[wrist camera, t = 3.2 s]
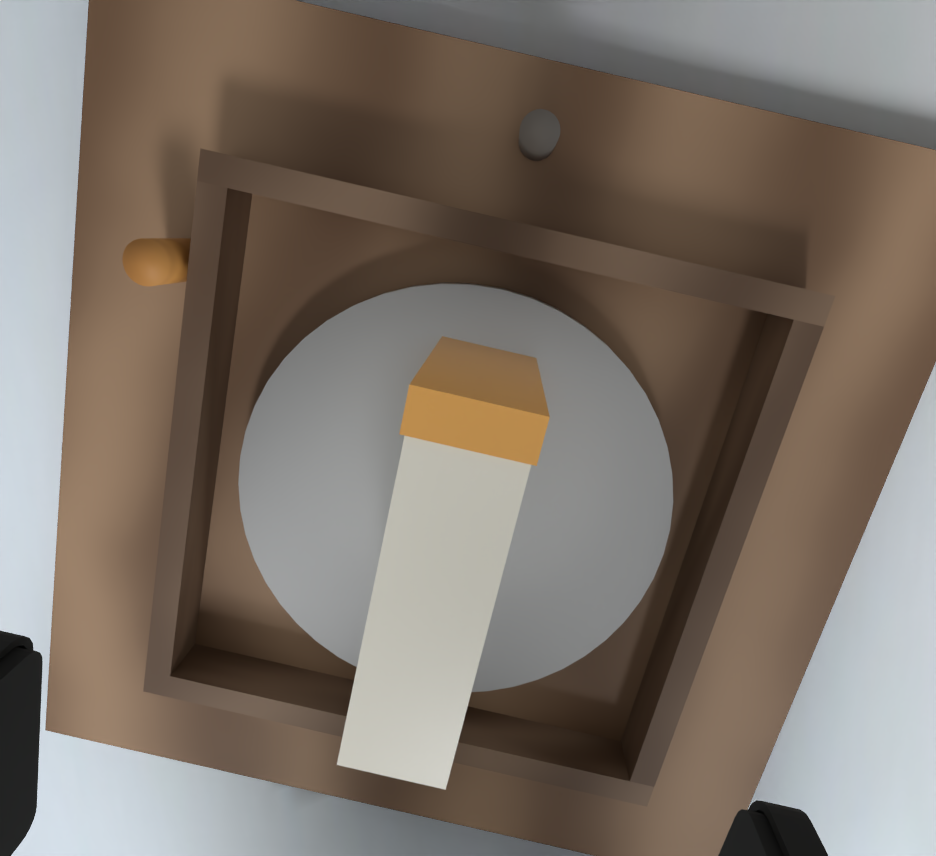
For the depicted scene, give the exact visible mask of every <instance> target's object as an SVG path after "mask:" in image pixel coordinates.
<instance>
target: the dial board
mask: <svg viewBox="0 0 936 856" xmlns="http://www.w3.org/2000/svg"><path fill="white" fill-rule="evenodd" d="M443 282H445V283H475V284H481V285H487V286H493V287H499V288H504V289H507V290H511V291H514V292H517V293H521V294H524V295H527V296H530V297H533V298H535V299H537V300H539V301H542V302H544V303H546V304H548V305H550V306H553V307H555V308H557V309H559V310H561V311H562V312H564V313H565V314H567V315H568V316H570V317H572V318H573V319H575V320H576V321H578V322H580V323H581V324H583V325H584V326H585V327H586V328H588V329H589V330H590V331H591V332H592V333H594V334H595V335H596V336H597V337H598V338H600V339H601V340H602V341H603V342H604V343H605V344H606V345H607V346H608V347H609V348H610V349H611V350H612V351H613V352H614V353H615V354H616V356H617V357H618V358H619V359H620V360H621V361H622V362H623V363H624V364H625V366H626V367H627V368H628V369H629V370H630V371H631V373H632V374H633V376H634V377H635V379H636V380H637V382H638V383H639V385H640V386H641V388H642V389H643V391H644V392H645V393H646V395H647V397H648V399H649V401H650V403H651V405H652V407H653V409H654V411H655V413H656V415H657V418H658V420H659V422H660V425H661V428H662V431H663V435H664V438H665V441H666V444H667V447H668V452H669V458H670V464H671V469H672V478H673V509H672V517H671V526H670V532H669V535H668V539H667V543H666V547H665V551H664V555H663V557H662V560H661V562H660V564H659V567H658V569H657V572H656V574H655V576H654V579H653V581H652V582H651V584H650V586H649V587H648V589H647V591H646V593H645V594H644V596H643V598H642V599H641V601H640V603H639V604H638V605H637V606H636V608H635V609H634V610H633V612H632V613H631V614H630V615H629V617H628V618H627V619H626V620H625V622H624V623H623V624H622V625H621V626H620V627H619V628H618V629H617V630H616V631H615V632H614V633H613V634H612V635H611V636H610V637H609V638H608V639H607V640H606V641H604V642H603V643H602V644H600V645H599V646H598V647H596V648H595V649H594V650H592V651H591V652H590V653H588V654H587V655H586V656H584V657H583V658H581V659H579V660H577V661H576V662H574V663H572V664H571V665H569V666H567V667H565V668H564V669H562V670H559V671H557V672H555V673H552V674H550V675H548V676H545V677H543V678H541V679H538V680H535V681H531V682H528V683H525V684H521V685H518V686H514V687H509V688H504V689H498V690H492V691H482V692H471V696H470V699H469V703H468V707H467V711H466V714H465V718H464V722H463V726H462V730H461V733H460V737H459V741H458V745H457V749H456V752H455V756H454V760H453V764H452V768H451V771H450V775H449V779H448V783H447V786H446V790H445V789H440V788H436V787H431V786H427V785H423V784H418V783H414V782H410V781H405V780H401V779H396V778H392V777H388V776H383V775H379V774H375V773H370V772H366V771H361V770H357V769H353V768H348V767H344V766H340V765H337V761H338V756H339V751H340V746H341V741H342V737H343V732H344V727H345V722H346V717H347V712H348V707H349V703H350V698H351V693H352V688H353V683H354V678H355V674H356V669H357V667H355V666H354V665H352V664H350V663H348V662H346V661H345V660H343V659H341V658H339V657H337V656H336V655H335V654H333V653H332V652H330V651H329V650H328V649H326V648H325V647H323V646H322V645H321V644H319V643H318V642H317V641H315V640H314V639H313V638H312V637H311V636H310V635H309V634H308V633H307V632H306V631H304V630H303V629H302V628H301V627H300V626H299V625H298V624H297V623H296V622H295V621H294V620H293V618H292V617H291V616H290V615H289V614H288V613H287V611H286V610H285V609H284V608H283V607H282V606H281V605H280V603H279V602H278V600H277V599H276V597H275V596H274V594H273V593H272V591H271V590H270V588H269V587H268V585H267V584H266V582H265V580H264V578H263V576H262V574H261V572H260V570H259V568H258V566H257V564H256V562H255V560H254V558H253V555H252V552H251V549H250V546H249V543H248V540H247V538H246V535H245V530H244V525H243V520H242V515H241V511H240V499H239V485H238V482H239V467H240V455H241V450H242V446H243V441H244V436H245V431H246V428H247V425H248V423H249V420H250V417H251V414H252V412H253V409H254V406H255V404H256V402H257V400H258V398H259V396H260V395H261V393H262V391H263V389H264V387H265V385H266V383H267V381H268V380H269V379H270V377H271V376H272V375H273V373H274V372H275V370H276V369H277V368H278V366H279V365H280V364H281V362H282V361H283V360H284V358H285V357H286V356H287V355H288V354H289V353H290V352H291V351H292V350H293V349H294V348H295V347H296V346H297V345H298V344H299V343H300V342H301V341H302V340H303V339H304V338H305V337H306V336H308V335H309V334H310V333H311V332H313V331H314V330H315V329H317V328H318V327H319V326H321V325H322V324H323V323H324V322H326V321H327V320H329V319H331V318H332V317H334V316H336V315H338V314H339V313H341V312H343V311H345V310H346V309H348V308H350V307H352V306H354V305H356V304H358V303H361V302H363V301H366V300H368V299H371V298H373V297H376V296H378V295H381V294H383V293H386V292H390V291H394V290H398V289H402V288H406V287H410V286H415V285H424V284H434V283H443ZM935 362H936V150H933V149H929V148H925V147H921V146H916V145H912V144H908V143H904V142H899V141H895V140H891V139H886V138H882V137H878V136H874V135H869V134H865V133H861V132H856V131H852V130H848V129H844V128H839V127H835V126H831V125H827V124H822V123H818V122H814V121H809V120H805V119H801V118H797V117H792V116H788V115H784V114H779V113H775V112H771V111H767V110H762V109H758V108H754V107H750V106H745V105H741V104H737V103H732V102H728V101H724V100H720V99H715V98H711V97H707V96H702V95H698V94H694V93H690V92H685V91H681V90H677V89H673V88H668V87H664V86H660V85H655V84H651V83H647V82H643V81H638V80H634V79H630V78H626V77H621V76H617V75H613V74H608V73H604V72H600V71H596V70H591V69H587V68H583V67H578V66H574V65H570V64H566V63H561V62H557V61H553V60H549V59H544V58H540V57H536V56H531V55H527V54H523V53H519V52H514V51H510V50H506V49H501V48H497V47H493V46H489V45H484V44H480V43H476V42H472V41H467V40H463V39H459V38H454V37H450V36H446V35H442V34H437V33H433V32H429V31H424V30H420V29H416V28H412V27H407V26H403V25H399V24H395V23H390V22H386V21H382V20H377V19H373V18H369V17H365V16H360V15H356V14H352V13H348V12H343V11H339V10H335V9H330V8H326V7H322V6H318V5H313V4H309V3H305V2H300V1H296V0H89V6H88V23H87V39H86V56H85V73H84V90H83V107H82V124H81V140H80V157H79V174H78V191H77V208H76V224H75V241H74V258H73V275H72V292H71V309H70V325H69V342H68V359H67V376H66V393H65V409H64V426H63V443H62V460H61V477H60V494H59V510H58V527H57V544H56V561H55V578H54V594H53V611H52V628H51V645H50V662H49V679H48V695H47V712H46V729H45V730H47V731H51V732H56V733H60V734H65V735H69V736H73V737H78V738H82V739H86V740H91V741H95V742H100V743H104V744H108V745H113V746H117V747H121V748H126V749H130V750H135V751H139V752H143V753H148V754H152V755H156V756H161V757H165V758H170V759H174V760H178V761H183V762H187V763H191V764H196V765H200V766H205V767H209V768H213V769H218V770H222V771H226V772H231V773H235V774H240V775H244V776H248V777H253V778H257V779H262V780H266V781H270V782H275V783H279V784H283V785H288V786H292V787H297V788H301V789H305V790H310V791H314V792H318V793H323V794H327V795H332V796H336V797H340V798H345V799H349V800H353V801H358V802H362V803H367V804H371V805H375V806H380V807H384V808H388V809H393V810H397V811H402V812H406V813H410V814H415V815H419V816H423V817H428V818H432V819H437V820H441V821H445V822H450V823H454V824H458V825H463V826H467V827H472V828H476V829H480V830H485V831H489V832H493V833H498V834H502V835H507V836H511V837H515V838H520V839H524V840H529V841H533V842H537V843H542V844H546V845H550V846H555V847H559V848H564V849H568V850H572V851H577V852H581V853H585V854H590V855H594V856H718V855H719V853H720V850H721V848H722V846H723V843H724V841H725V839H726V837H727V834H728V832H729V830H730V827H731V825H732V823H733V820H734V818H735V816H736V814H737V813H738V811H740V810H741V809H744V810H747V809H748V807H749V804H750V802H751V800H752V797H753V795H754V792H755V790H756V788H757V785H758V783H759V781H760V778H761V776H762V773H763V771H764V769H765V766H766V764H767V762H768V759H769V757H770V754H771V752H772V750H773V747H774V745H775V743H776V740H777V738H778V735H779V733H780V731H781V728H782V726H783V723H784V721H785V719H786V716H787V714H788V712H789V709H790V707H791V704H792V702H793V700H794V697H795V695H796V693H797V690H798V688H799V685H800V683H801V681H802V678H803V676H804V674H805V671H806V669H807V666H808V664H809V662H810V659H811V657H812V655H813V652H814V650H815V647H816V645H817V643H818V640H819V638H820V636H821V633H822V631H823V628H824V626H825V624H826V621H827V619H828V617H829V614H830V612H831V609H832V607H833V605H834V602H835V600H836V597H837V595H838V593H839V590H840V588H841V586H842V583H843V581H844V578H845V576H846V574H847V571H848V569H849V567H850V564H851V562H852V559H853V557H854V555H855V552H856V550H857V548H858V545H859V543H860V540H861V538H862V536H863V533H864V531H865V529H866V526H867V524H868V521H869V519H870V517H871V514H872V512H873V510H874V507H875V505H876V502H877V500H878V498H879V495H880V493H881V491H882V488H883V486H884V483H885V481H886V479H887V476H888V474H889V472H890V469H891V467H892V464H893V462H894V460H895V457H896V455H897V452H898V450H899V448H900V445H901V443H902V441H903V438H904V436H905V433H906V431H907V429H908V426H909V424H910V422H911V419H912V417H913V414H914V412H915V410H916V407H917V405H918V403H919V400H920V398H921V395H922V393H923V391H924V388H925V386H926V384H927V381H928V379H929V376H930V374H931V372H932V369H933V367H934V365H935Z"/></svg>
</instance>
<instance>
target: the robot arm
mask: <svg viewBox="0 0 936 856" xmlns="http://www.w3.org/2000/svg"><path fill="white" fill-rule="evenodd" d="M41 684H42V656H41V654H40V653H39V652H37V651H33V643H32V641H31V640H30V638H28V637H25V636H21V635H16V634H12V633H8V632H3V631H0V856H11V855H12V853H13V852H14V851H15V850H16V848H17V847H18V846H19V845H20V843H21V842H22V840H23V839H24V838H25V836H26V834H27V832H28V831H29V829H30V827H31V824H32V822H33V820H34V816H35V813H36V807H37V783H38V758H39V733H40V709H41ZM718 856H828V854H827V852H826V850H825V848H824V846H823V844H822V842H821V840H820V838H819V836H818V834H817V832H816V830H815V828H814V827H813V825H812V823H811V821H810V819H809V818H808V816H807V815H806V813H804V812H803V811H801V810H799V809H795V808H790V807H786V806H782V805H777V804H773V803H768V802H764V801H755V802H754V803H752V804H751V806H750V808H749V809H748V810H744V809H741V810H740V811H738V813H737V814H736V816H735V818H734V820H733V823H732V825H731V827H730V830H729V832H728V834H727V837H726V839H725V841H724V843H723V846H722V848H721V850H720V853H719V855H718Z"/></svg>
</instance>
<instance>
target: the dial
mask: <svg viewBox="0 0 936 856" xmlns="http://www.w3.org/2000/svg"><path fill="white" fill-rule="evenodd" d="M238 485H239V499H240V511H241V515H242V520H243V525H244V530H245V535H246V538H247V540H248V543H249V546H250V549H251V552H252V555H253V558H254V560H255V562H256V564H257V566H258V568H259V570H260V572H261V574H262V576H263V578H264V580H265V582H266V584H267V585H268V587H269V588H270V590H271V591H272V593H273V594H274V596H275V597H276V599H277V600H278V602H279V603H280V605H281V606H282V607H283V608H284V609H285V610H286V611H287V613H288V614H289V615H290V616H291V617H292V618H293V620H294V621H295V622H296V623H297V624H298V625H299V626H300V627H301V628H302V629H303V630H304V631H306V632H307V633H308V634H309V635H310V636H311V637H312V638H313V639H314V640H315V641H317V642H318V643H319V644H321V645H322V646H323V647H325V648H326V649H328V650H329V651H330V652H332V653H333V654H335V655H336V656H337V657H339V658H341V659H343V660H345V661H346V662H348V663H350V664H352V665H354V666H355V667H357V669H356V674H355V678H354V683H353V688H352V693H351V698H350V703H349V707H348V712H347V717H346V722H345V727H344V732H343V737H342V741H341V746H340V751H339V756H338V761H337V765H340V766H344V767H348V768H353V769H357V770H361V771H366V772H370V773H375V774H379V775H383V776H388V777H392V778H396V779H401V780H405V781H410V782H414V783H418V784H423V785H427V786H431V787H436V788H440V789H445V790H446V786H447V783H448V779H449V775H450V771H451V768H452V764H453V760H454V756H455V752H456V749H457V745H458V741H459V737H460V733H461V730H462V726H463V722H464V718H465V714H466V711H467V707H468V703H469V699H470V696H471V692H482V691H492V690H498V689H504V688H509V687H514V686H518V685H521V684H525V683H528V682H531V681H535V680H538V679H541V678H543V677H545V676H548V675H550V674H552V673H555V672H557V671H559V670H562V669H564V668H565V667H567V666H569V665H571V664H572V663H574V662H576V661H577V660H579V659H581V658H583V657H584V656H586V655H587V654H588V653H590V652H591V651H592V650H594V649H595V648H596V647H598V646H599V645H600V644H602V643H603V642H604V641H606V640H607V639H608V638H609V637H610V636H611V635H612V634H613V633H614V632H615V631H616V630H617V629H618V628H619V627H620V626H621V625H622V624H623V623H624V622H625V620H626V619H627V618H628V617H629V615H630V614H631V613H632V612H633V610H634V609H635V608H636V606H637V605H638V604H639V603H640V601H641V599H642V598H643V596H644V594H645V593H646V591H647V589H648V587H649V586H650V584H651V582H652V581H653V579H654V576H655V574H656V572H657V569H658V567H659V564H660V562H661V560H662V557H663V555H664V551H665V547H666V543H667V539H668V535H669V532H670V526H671V517H672V509H673V478H672V469H671V464H670V458H669V452H668V447H667V444H666V441H665V438H664V435H663V431H662V428H661V425H660V422H659V420H658V418H657V415H656V413H655V411H654V409H653V407H652V405H651V403H650V401H649V399H648V397H647V395H646V393H645V392H644V391H643V389H642V388H641V386H640V385H639V383H638V382H637V380H636V379H635V377H634V376H633V374H632V373H631V371H630V370H629V369H628V368H627V367H626V366H625V364H624V363H623V362H622V361H621V360H620V359H619V358H618V357H617V356H616V354H615V353H614V352H613V351H612V350H611V349H610V348H609V347H608V346H607V345H606V344H605V343H604V342H603V341H602V340H601V339H600V338H598V337H597V336H596V335H595V334H594V333H592V332H591V331H590V330H589V329H588V328H586V327H585V326H584V325H583V324H581V323H580V322H578V321H576V320H575V319H573V318H572V317H570V316H568V315H567V314H565V313H564V312H562V311H561V310H559V309H557V308H555V307H553V306H550V305H548V304H546V303H544V302H542V301H539V300H537V299H535V298H533V297H530V296H527V295H524V294H521V293H517V292H514V291H511V290H507V289H504V288H499V287H493V286H487V285H481V284H475V283H445V282H443V283H434V284H424V285H415V286H410V287H406V288H402V289H398V290H394V291H390V292H386V293H383V294H381V295H378V296H376V297H373V298H371V299H368V300H366V301H363V302H361V303H358V304H356V305H354V306H352V307H350V308H348V309H346V310H345V311H343V312H341V313H339V314H338V315H336V316H334V317H332V318H331V319H329V320H327V321H326V322H324V323H323V324H322V325H321V326H319V327H318V328H317V329H315V330H314V331H313V332H311V333H310V334H309V335H308V336H306V337H305V338H304V339H303V340H302V341H301V342H300V343H299V344H298V345H297V346H296V347H295V348H294V349H293V350H292V351H291V352H290V353H289V354H288V355H287V356H286V357H285V358H284V360H283V361H282V362H281V364H280V365H279V366H278V368H277V369H276V370H275V372H274V373H273V375H272V376H271V377H270V379H269V380H268V381H267V383H266V385H265V387H264V389H263V391H262V393H261V395H260V396H259V398H258V400H257V402H256V404H255V406H254V409H253V412H252V414H251V417H250V420H249V423H248V425H247V428H246V431H245V436H244V441H243V446H242V450H241V455H240V467H239V482H238Z"/></svg>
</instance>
